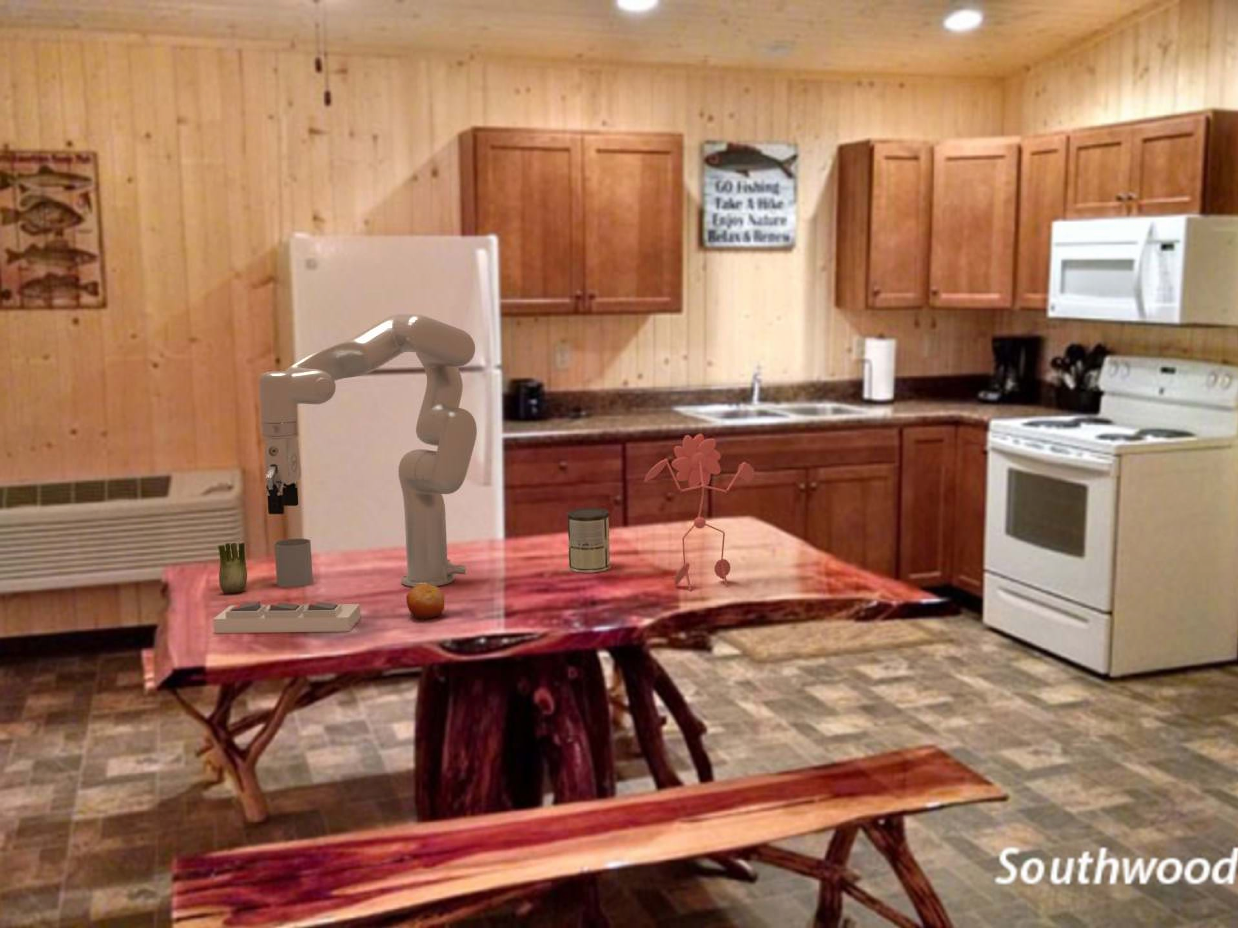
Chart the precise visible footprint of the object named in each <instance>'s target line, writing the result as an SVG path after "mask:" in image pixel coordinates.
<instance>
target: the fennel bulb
mask: <svg viewBox="0 0 1238 928" xmlns="http://www.w3.org/2000/svg"><path fill="white" fill-rule="evenodd" d="M217 546H218V552H219V553H218V554H219V570H218V571H219V573H218V579H219V581H218V582H219V587H220V590H221V591H222V592H224V593H225V594H237V593H241V592H243V591H245V589H246V587H247V584H248V582H247V581H248V570H247V569H248V568H247V563H246V551H245V550H246V549H245V542H244V541H243V542H239V543H238V547H237V542H231V543H230V542H226V543H225V544H224V543H223V544H222V543H221V544H218V545H217Z"/></svg>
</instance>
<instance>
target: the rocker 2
mask: <svg viewBox="0 0 1238 928" xmlns="http://www.w3.org/2000/svg"><path fill="white" fill-rule="evenodd" d="M337 604H338V603H329V602H323V601H317V600H312V601H311V602H310V603H309V604H308V605H309V607H308V610H334V609H335V608H336V606H337Z"/></svg>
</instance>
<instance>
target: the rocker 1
mask: <svg viewBox="0 0 1238 928" xmlns="http://www.w3.org/2000/svg"><path fill="white" fill-rule="evenodd" d="M236 605H237V604H236ZM260 605H261V602H260V601H254V602H250V603H244V604H243V603H242V604H238V605H237V606H235V607H234V608H233V609H232V610H231V611H257V610H258V609H259V608H260V607H261V606H260Z"/></svg>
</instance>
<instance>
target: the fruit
mask: <svg viewBox="0 0 1238 928" xmlns="http://www.w3.org/2000/svg"><path fill="white" fill-rule="evenodd" d="M405 598H406V599H405V600H406V605H407V608H408V611H409V612H410V616H411V615H412V616H413V617H415V618H417V619H419V620H421V621H423V620H422V619H425V620H427V619H432V618H435V617H438V616H440V615H441V614H442V613H443V612H444V611H445V610H444V609H445V594H444V592H443V591H442V590H440V588H439V586H432V585H430V584H427V583H423V584H419V585H417V586H415V587H411V589H410V590H409V591H408V593H407V594H406V597H405Z"/></svg>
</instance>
